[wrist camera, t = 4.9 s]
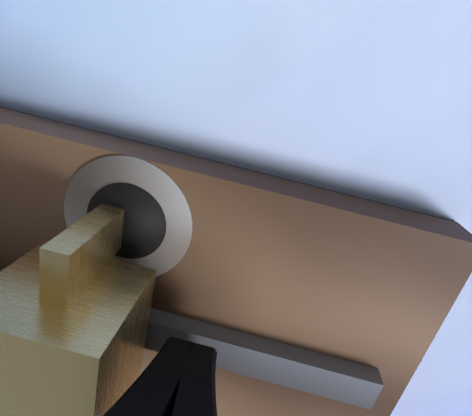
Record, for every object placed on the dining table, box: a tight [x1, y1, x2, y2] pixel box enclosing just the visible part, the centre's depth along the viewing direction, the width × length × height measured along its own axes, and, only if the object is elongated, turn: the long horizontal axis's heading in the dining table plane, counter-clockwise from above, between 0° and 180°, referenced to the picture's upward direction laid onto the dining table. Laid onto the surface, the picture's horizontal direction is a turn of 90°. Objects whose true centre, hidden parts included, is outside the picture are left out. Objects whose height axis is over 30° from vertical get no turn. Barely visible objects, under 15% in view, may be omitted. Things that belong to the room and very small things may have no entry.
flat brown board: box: [0, 107, 472, 416], centre depth 10 cm, size 10×22×5 cm, turn 77°
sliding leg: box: [0, 203, 157, 416], centre depth 8 cm, size 6×3×4 cm, turn 167°
